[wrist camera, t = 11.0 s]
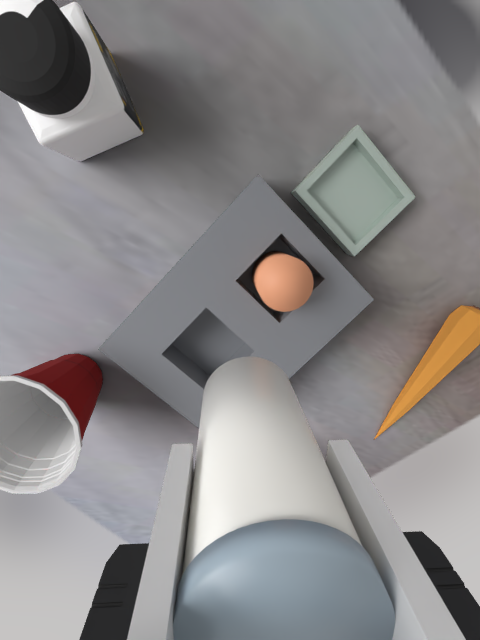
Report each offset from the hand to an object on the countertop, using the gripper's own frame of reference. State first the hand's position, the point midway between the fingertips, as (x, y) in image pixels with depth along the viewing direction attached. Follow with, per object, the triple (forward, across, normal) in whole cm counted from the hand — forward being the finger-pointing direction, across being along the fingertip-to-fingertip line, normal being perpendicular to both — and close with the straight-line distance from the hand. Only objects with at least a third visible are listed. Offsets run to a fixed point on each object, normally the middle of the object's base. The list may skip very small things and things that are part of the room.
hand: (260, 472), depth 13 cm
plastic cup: (+25, -18, -8) cm, 32 cm away
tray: (+25, +12, +12) cm, 30 cm away
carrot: (+25, +22, -8) cm, 35 cm away
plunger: (+23, +4, +4) cm, 24 cm away
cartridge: (+6, 0, 0) cm, 6 cm away
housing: (+25, 0, 0) cm, 25 cm away
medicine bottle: (+25, -13, +20) cm, 34 cm away
